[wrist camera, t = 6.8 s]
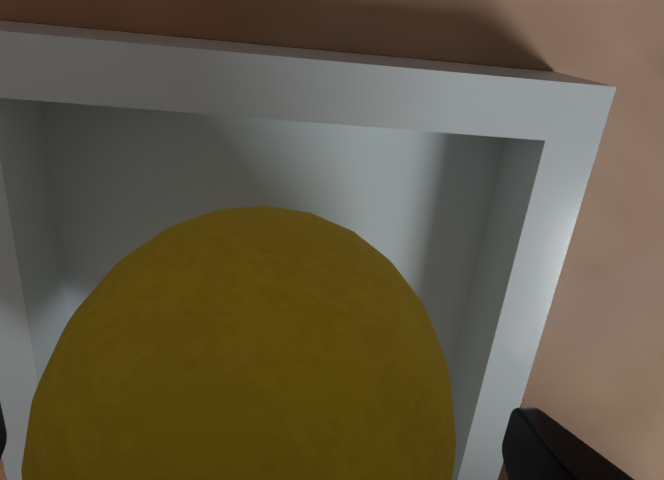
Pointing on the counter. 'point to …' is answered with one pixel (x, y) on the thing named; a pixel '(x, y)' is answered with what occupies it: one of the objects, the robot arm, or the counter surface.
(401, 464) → the lemon
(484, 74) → the dish
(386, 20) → the counter surface
